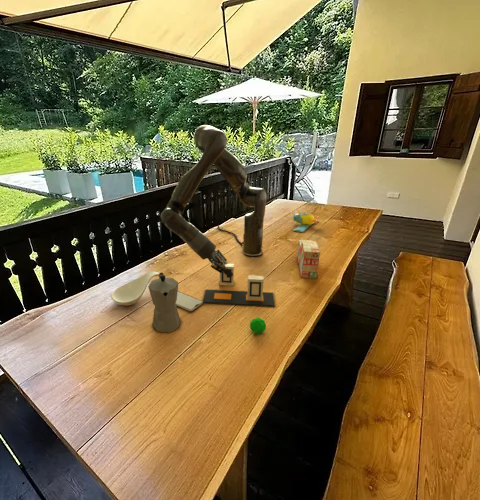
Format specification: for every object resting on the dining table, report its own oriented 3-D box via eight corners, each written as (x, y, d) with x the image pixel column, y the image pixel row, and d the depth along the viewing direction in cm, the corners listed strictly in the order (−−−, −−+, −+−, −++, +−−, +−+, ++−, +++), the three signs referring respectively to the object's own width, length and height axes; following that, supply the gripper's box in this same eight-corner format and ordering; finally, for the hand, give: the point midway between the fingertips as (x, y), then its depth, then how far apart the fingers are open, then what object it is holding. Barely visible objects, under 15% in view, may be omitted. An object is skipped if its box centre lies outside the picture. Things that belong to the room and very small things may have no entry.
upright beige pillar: (247, 295, 114) (248, 275, 111) (261, 295, 113) (263, 275, 110) (247, 299, 111) (248, 279, 108) (262, 300, 110) (263, 280, 107)
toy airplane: (309, 219, 174) (285, 216, 183) (308, 233, 177) (284, 229, 186) (325, 209, 194) (302, 206, 203) (324, 222, 197) (301, 218, 206)
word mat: (202, 303, 111) (202, 301, 110) (205, 290, 119) (205, 289, 119) (274, 306, 107) (274, 305, 107) (272, 293, 116) (272, 292, 115)
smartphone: (173, 289, 119) (203, 301, 110) (174, 291, 119) (203, 302, 111) (160, 297, 113) (191, 310, 105) (160, 299, 114) (191, 312, 105)
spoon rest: (125, 314, 105) (122, 296, 102) (106, 302, 112) (103, 285, 110) (173, 287, 122) (172, 271, 119) (154, 279, 129) (153, 264, 126)
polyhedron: (254, 325, 98) (255, 312, 96) (268, 331, 95) (269, 318, 93) (246, 332, 94) (247, 320, 93) (260, 339, 91) (261, 326, 90)
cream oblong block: (220, 281, 126) (220, 263, 122) (233, 282, 125) (233, 263, 122) (219, 285, 123) (219, 266, 119) (233, 286, 122) (233, 267, 119)
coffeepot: (183, 334, 95) (180, 283, 88) (153, 338, 93) (148, 288, 86) (177, 307, 108) (174, 262, 101) (150, 311, 107) (146, 265, 100)
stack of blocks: (296, 257, 147) (299, 233, 142) (310, 258, 146) (313, 234, 141) (301, 277, 127) (304, 251, 123) (316, 278, 126) (320, 251, 121)
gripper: (205, 245, 111) (238, 276, 114) (210, 233, 124) (239, 260, 127) (192, 258, 113) (224, 287, 117) (197, 244, 126) (226, 271, 129)
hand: (231, 273), depth 122 cm, fingers closed on cream oblong block, 3 cm apart
